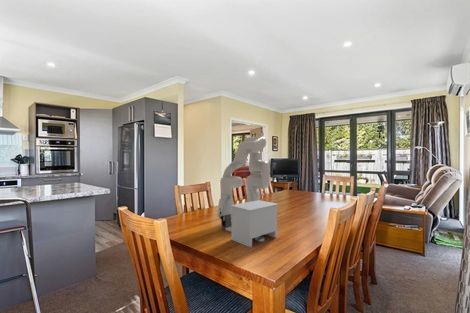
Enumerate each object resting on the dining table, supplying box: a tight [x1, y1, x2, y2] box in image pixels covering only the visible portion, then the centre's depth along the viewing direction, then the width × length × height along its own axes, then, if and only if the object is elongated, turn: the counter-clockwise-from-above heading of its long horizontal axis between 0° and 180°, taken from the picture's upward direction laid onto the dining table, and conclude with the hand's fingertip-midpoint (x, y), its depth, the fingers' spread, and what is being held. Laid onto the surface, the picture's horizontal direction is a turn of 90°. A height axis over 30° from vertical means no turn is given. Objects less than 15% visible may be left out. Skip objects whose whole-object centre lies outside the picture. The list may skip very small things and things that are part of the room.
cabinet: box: [230, 199, 279, 248], centre depth 129 cm, size 23×15×19 cm, turn 132°
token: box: [254, 235, 266, 243], centre depth 126 cm, size 5×5×2 cm
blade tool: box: [221, 214, 232, 233], centre depth 140 cm, size 5×24×9 cm, turn 42°
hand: (226, 225), depth 147 cm, fingers closed on blade tool, 4 cm apart
